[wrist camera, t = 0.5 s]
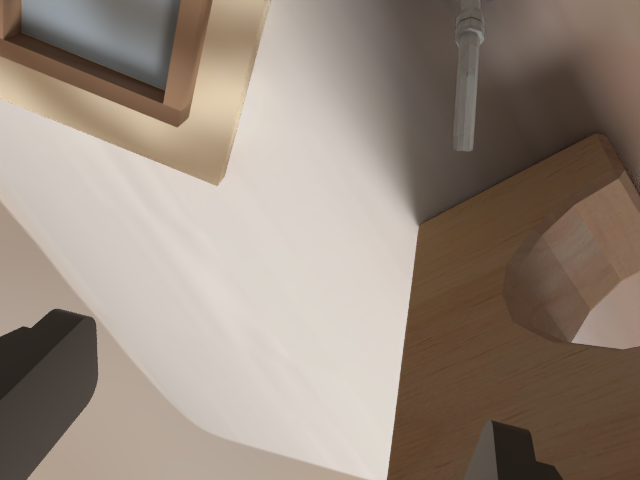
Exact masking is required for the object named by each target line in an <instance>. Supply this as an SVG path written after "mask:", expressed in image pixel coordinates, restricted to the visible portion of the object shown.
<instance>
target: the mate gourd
mask: <svg viewBox="0 0 640 480" xmlns="http://www.w3.org/2000/svg"><path fill="white" fill-rule="evenodd" d="M481 1H491V0H461V11H460V12H459V14H458V16H457V18H456V23H455V37H454V40H455V42H456V44H457V46H458V47H459V49H458V65H457V81H456V97H455V112H454V128H453V145H452V150H455V151H473V142H474V128H475V112H476V97H477V82H478V65H479V47H480V45H481V44H482V42H483V41H484V39H485V18H484V15H483V13H482V10H481Z"/></svg>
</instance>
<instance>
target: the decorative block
mask: <svg viewBox="0 0 640 480" xmlns="http://www.w3.org/2000/svg"><path fill="white" fill-rule="evenodd" d="M639 272H640V195H639V193H638V191H637V190H636V188H635V186H634V184H633V183H632V181H631V179H630V177H629V175H628V174H627V172H626V170H625V168H624V167H623V165H622V163H621V161H620V159H619V158H618V156H617V154H616V152H615V151H614V149H613V147H612V145H611V144H610V142H609V140H608V138H607V136H606V135H602V134H597V133H595V134H593V135H591V136H589V137H587V138H585V139H583V140H581V141H579V142H577V143H575V144H573V145H572V146H570V147H568V148H566V149H564V150H562V151H560V152H558V153H556V154H554V155H552V156H550V157H548V158H546V159H545V160H543V161H541V162H539V163H537V164H535V165H533V166H531V167H529V168H527V169H525V170H523V171H521V172H520V173H518V174H516V175H514V176H512V177H510V178H508V179H506V180H504V181H502V182H500V183H498V184H497V185H495V186H493V187H491V188H489V189H487V190H485V191H483V192H481V193H479V194H477V195H476V196H474V197H472V198H470V199H468V200H466V201H464V202H462V203H460V204H458V205H456V206H455V207H453V208H451V209H449V210H447V211H445V212H443V213H441V214H439V215H437V216H436V217H434V218H432V219H430V220H428V221H426V222H424V223H422V224H420V226H419V230H418V237H417V245H416V253H415V261H414V270H413V278H412V286H411V294H410V301H409V309H408V317H407V324H406V332H405V340H404V348H403V356H402V364H401V372H400V381H399V389H398V397H397V405H396V413H395V422H394V430H393V437H392V445H391V453H390V461H389V469H388V476H387V480H464V478H465V475H466V472H467V469H468V467H469V464H470V461H471V459H472V456H473V454H474V451H475V448H476V446H477V443H478V441H479V438H480V435H481V433H482V430H483V428H484V425H485V423H486V422H487V421H488V420H493V421H497V422H500V423H504V424H508V425H512V426H516V427H520V428H524V429H528V430H529V431H530V433H531V436H532V441H533V447H534V452H535V458H536V461H538V462H542V463H546V464H549V465H553V466H555V468H556V469H557V471H558V472H559V474H560V475H561V477H562V479H563V480H640V346H639V347H634V348H629V349H615V348H608V347H600V346H592V345H584V344H576V343H571V342H572V340H573V339H574V337H575V335H576V334H577V332H578V330H579V329H580V327H581V325H582V324H583V322H584V320H585V319H586V317H587V315H588V314H589V312H590V311H591V310H592V309H593V308H594V307H595V306H596V305H597V304H598V303H600V302H601V301H602V300H603V299H604V298H605V297H606V296H607V295H608V294H609V293H610V292H611V291H612V290H613V289H614V288H615V287H616V286H617V285H618V284H619V283H621V282H622V281H624V280H626V279H628V278H630V277H632V276H633V275H635V274H637V273H639Z"/></svg>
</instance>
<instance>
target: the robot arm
mask: <svg viewBox="0 0 640 480" xmlns="http://www.w3.org/2000/svg"><path fill="white" fill-rule="evenodd" d="M97 380H98V363H97V335H96V323H95V320H94V319H93V318H92V317H89V316H85V315H81V314H77V313H73V312H69V311H65V310H62V309H54V310H52V311H50V312H49V313H48V314H47V315H46V316H45V317H43V318H42V319H41V320H40V321H39V322H38V323H36V324H35V325H34V326H33V327H32V328H28V327H21V328H19V329H17V330H14V331H12V332H10V333H8V334H5V335H3V336H1V337H0V480H27V478H28V477H29V476H30V475H31V473H32V472H33V471H34V470H35V468H36V467H37V466H38V465H39V464H40V462H41V461H42V460H43V458H44V457H45V456H46V455H47V454H48V452H49V451H50V450H51V449H52V448H53V446H54V445H55V444H56V443H57V441H58V440H59V439H60V438H61V436H62V435H63V434H64V433H65V431H66V430H67V429H68V428H69V427H70V425H71V424H72V423H73V422H74V420H75V419H76V418H77V417H78V415H79V414H80V413H81V412H82V411H83V409H84V408H85V407H86V406H87V404H88V403H89V401H90V399H91V398H92V396H93V393H94V391H95V388H96V384H97ZM464 480H563V479H562V477H561V475H560V474H559V472H558V471H557V469H556V468H555V466H553V465H549V464H546V463H542V462H538V461H536V458H535V452H534V447H533V441H532V436H531V433H530V431H529V430H528V429H524V428H520V427H516V426H512V425H508V424H504V423H500V422H497V421H493V420H488V421H487V422H486V423H485V425H484V428H483V430H482V433H481V435H480V438H479V441H478V443H477V446H476V448H475V451H474V454H473V456H472V459H471V461H470V464H469V467H468V469H467V472H466V475H465V478H464Z"/></svg>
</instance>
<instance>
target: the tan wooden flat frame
mask: <svg viewBox="0 0 640 480" xmlns="http://www.w3.org/2000/svg"><path fill="white" fill-rule="evenodd" d="M270 1H271V0H0V99H2V100H5V101H7V102H10V103H12V104H15V105H17V106H20V107H22V108H25V109H27V110H30V111H32V112H35V113H37V114H40V115H42V116H45V117H47V118H50V119H52V120H55V121H57V122H59V123H62V124H64V125H67V126H69V127H72V128H74V129H77V130H79V131H82V132H84V133H87V134H89V135H92V136H94V137H97V138H99V139H102V140H104V141H107V142H109V143H112V144H114V145H117V146H119V147H122V148H124V149H127V150H129V151H132V152H134V153H136V154H139V155H141V156H144V157H146V158H149V159H151V160H154V161H156V162H159V163H161V164H164V165H166V166H169V167H171V168H174V169H176V170H179V171H181V172H184V173H186V174H189V175H191V176H194V177H196V178H199V179H201V180H204V181H206V182H208V183H211V184H213V185H216V186H218V184H219V183H220V182H221V181H222V179H223V178H224V176H225V172H226V168H227V165H228V161H229V157H230V153H231V149H232V146H233V142H234V138H235V134H236V130H237V127H238V123H239V119H240V115H241V111H242V107H243V104H244V100H245V96H246V92H247V88H248V85H249V81H250V77H251V73H252V69H253V65H254V62H255V58H256V54H257V50H258V46H259V43H260V39H261V35H262V31H263V27H264V24H265V20H266V16H267V12H268V8H269V4H270Z"/></svg>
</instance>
